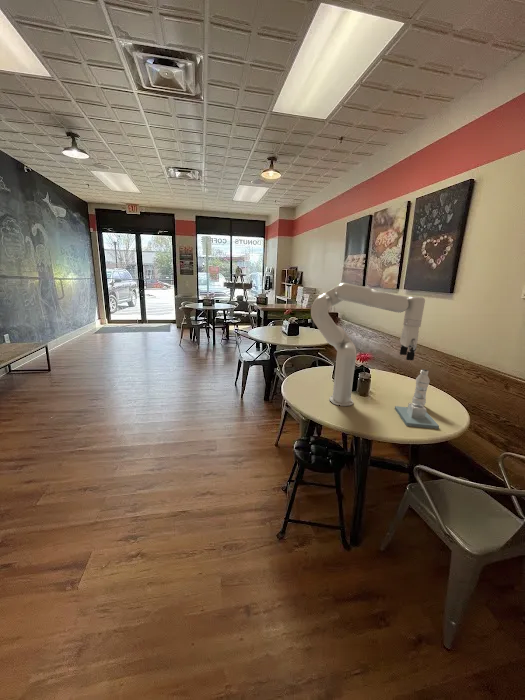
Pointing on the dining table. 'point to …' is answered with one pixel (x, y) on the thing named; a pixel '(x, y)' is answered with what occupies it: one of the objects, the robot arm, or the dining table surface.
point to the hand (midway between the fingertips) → (406, 357)
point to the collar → (416, 410)
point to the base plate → (416, 419)
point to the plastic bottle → (421, 387)
